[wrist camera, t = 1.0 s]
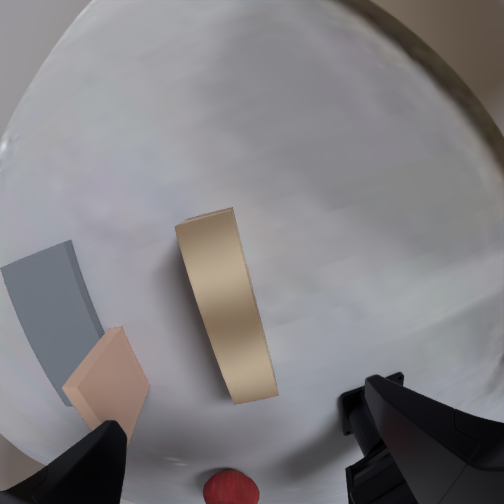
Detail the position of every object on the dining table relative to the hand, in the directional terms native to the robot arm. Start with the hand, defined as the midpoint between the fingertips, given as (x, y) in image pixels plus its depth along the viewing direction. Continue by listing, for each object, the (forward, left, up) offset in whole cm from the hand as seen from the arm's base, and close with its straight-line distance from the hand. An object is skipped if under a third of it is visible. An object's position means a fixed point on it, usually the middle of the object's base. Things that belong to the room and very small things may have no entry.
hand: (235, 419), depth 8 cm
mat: (-1, +16, -12) cm, 20 cm away
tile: (-4, +10, -12) cm, 16 cm away
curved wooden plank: (0, 0, -12) cm, 12 cm away
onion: (-21, +6, -12) cm, 25 cm away
